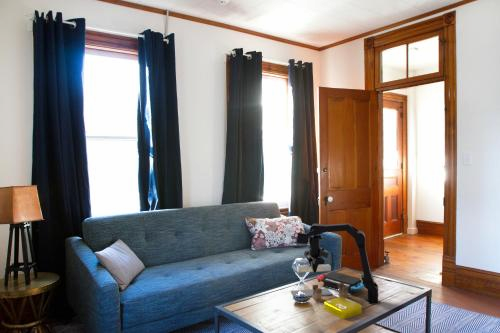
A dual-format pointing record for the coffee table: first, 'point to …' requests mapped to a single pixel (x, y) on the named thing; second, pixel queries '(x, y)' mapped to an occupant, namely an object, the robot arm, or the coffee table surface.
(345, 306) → the element tile
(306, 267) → the steel rail
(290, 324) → the coffee table surface
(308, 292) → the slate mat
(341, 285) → the hook posts
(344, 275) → the game console
